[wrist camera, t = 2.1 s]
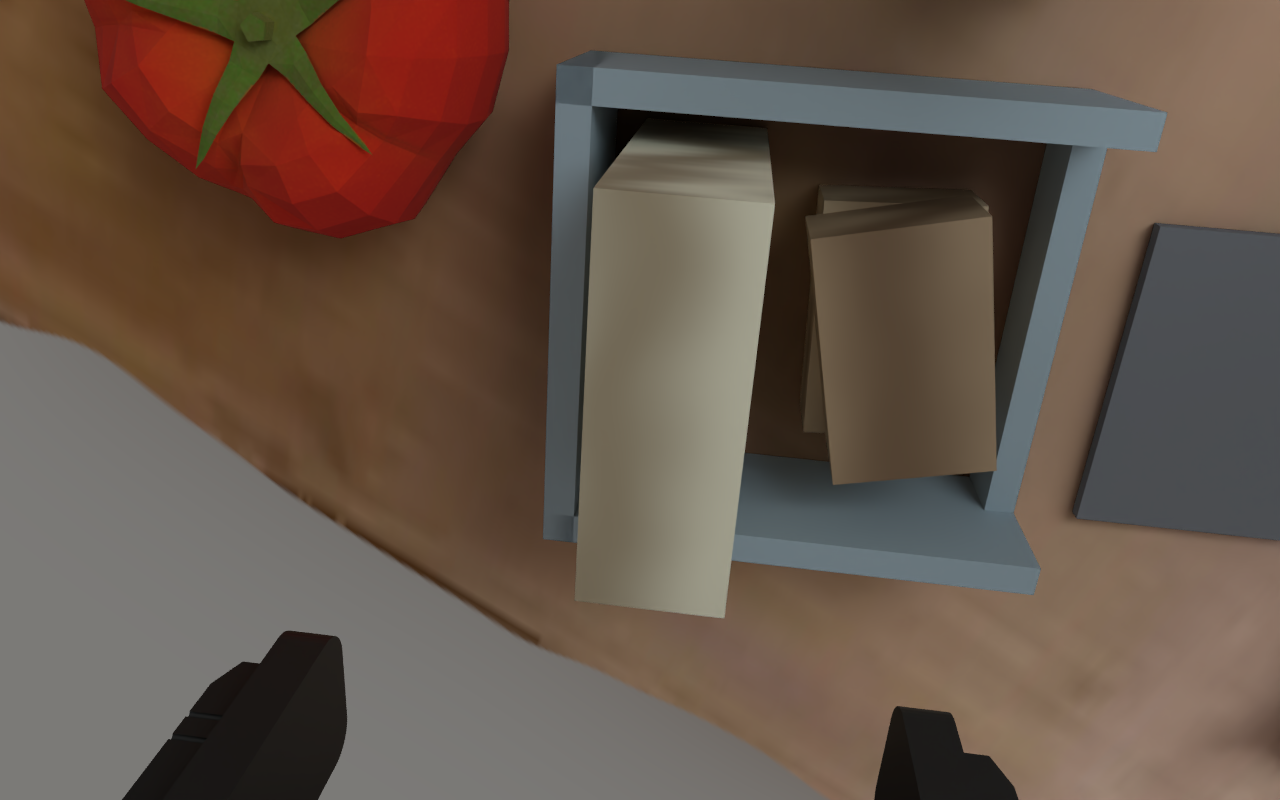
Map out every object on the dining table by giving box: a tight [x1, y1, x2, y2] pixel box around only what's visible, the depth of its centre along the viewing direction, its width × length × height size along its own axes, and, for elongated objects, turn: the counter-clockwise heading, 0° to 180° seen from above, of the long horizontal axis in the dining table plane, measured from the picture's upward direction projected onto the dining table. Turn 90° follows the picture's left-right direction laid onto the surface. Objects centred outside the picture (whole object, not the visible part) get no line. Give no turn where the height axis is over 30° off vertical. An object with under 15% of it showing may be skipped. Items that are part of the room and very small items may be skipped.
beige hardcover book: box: [575, 118, 775, 618], centre depth 29 cm, size 4×11×12 cm, turn 176°
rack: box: [543, 51, 1167, 595], centre depth 31 cm, size 16×15×6 cm
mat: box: [1072, 223, 1280, 540], centre depth 33 cm, size 8×11×1 cm
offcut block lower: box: [800, 184, 989, 433], centre depth 33 cm, size 5×8×3 cm, turn 179°
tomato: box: [84, 0, 509, 238], centre depth 28 cm, size 13×12×8 cm
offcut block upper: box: [805, 195, 997, 485], centre depth 30 cm, size 5×8×3 cm, turn 9°
